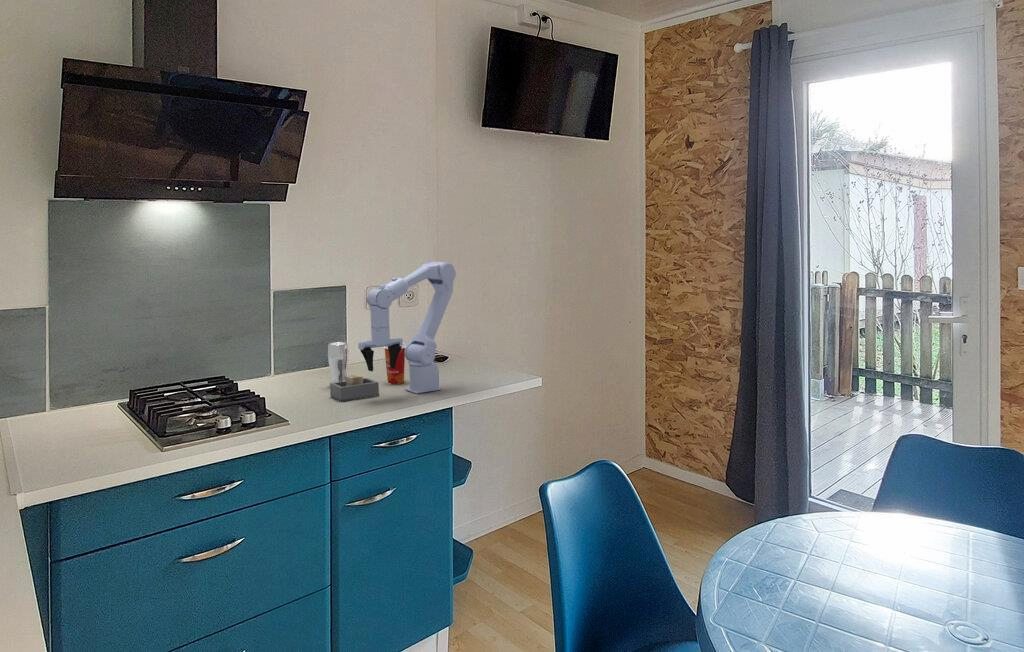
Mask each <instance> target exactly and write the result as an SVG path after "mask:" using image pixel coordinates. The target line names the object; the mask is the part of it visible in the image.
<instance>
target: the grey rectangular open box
mask: <svg viewBox="0 0 1024 652" xmlns="http://www.w3.org/2000/svg"><path fill="white" fill-rule="evenodd" d="M379 386H380V385H379V381H376V380H374V379H371V378H368V377H363V384H358V385H351V386H346V381H341V382H334V383H331V382H330V383H329V390H330V391H329V392H330V393H329V394H330V395H329V396H331V397H330V398H332V397H333V398H332V399H334V398H335V399H334V400H336V399H337V400H336V401H338V400H339V401H338V402H340V401H341V402H340V403H342V401H343V402H348V400H349V401H354V400H353V399H356V400H361V399H360V398H362V399H366V398H365V397H368V398H372V397H371V396H374V397H376V396H375V395H379V396H380V389H379V388H380V387H379Z"/></svg>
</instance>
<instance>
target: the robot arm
mask: <svg viewBox="0 0 1024 652" xmlns="http://www.w3.org/2000/svg"><path fill="white" fill-rule="evenodd" d="M456 277H457V271H456V269H455V267H454V264H452V262H449V261H428V262H426V263H423V264H421V266H420V267H418V268H417V269H415V270H414V271H412V272H411V273H409V274H408V275H407V276H404V277H403V278H401V277H392V278H391V280H390V281H388V282H387V283H386V284H381V285H380V286H379V288H373V289H371V290H370V291H369V293H367V297H366V298H365V300H366V303H367V305H368V306H369V311H370V332H371V334H370V335H371V340H368V341H362V342H361V341H360V342H358V343H357V346H358V347H357V348H358V350H360V353H361V354H362V357H363V358H364V360H365V363H366V366H367V370H368V372H373V371H374V353H375V351H374V350H372V349H374V348H382V347H383V348H384V346H388V350H389V356H390V368H395V365H396V361H397V357H398V355H399V353H400V351H401V346H400V345H403V343H404V339H403V338H399V337H398V338H391V334H390V332H391V331H390V327H391V326H390V307H391V305H392V304H393V302H394V301H395V300H397V299H399V298H401V297H402V296H404V295H405V294H407V293H408V291H409V288H411V287H412V286H414V285H416V284H418V283H420V282H422V281H424V280H427V281H428V282H429V283H430V285H431V286H432V287H433V289H434V294H433V297H432V299H431V302H430V304H429V306H428V308H427V311H426V315H425V317H424V319H423V321H422V324H421V326H420V329H419V331H418V333H417V334H416V335H414V336H413V337H412V338H411V339H410V342H408V344H407V345H405V346H406V347H405V352H404V354H405V359H406V360H407V361H408V365H409V369H408V370H409V386H408V387H405V388H404V390H406V391H409V392H410V393H412V394H413V393H414V394H422V393H429V392H434V391H440V390H441V388H440V371H439V367H438V365H437V363H436V362H434V360H435V358H436V351H437V347H438V346H437V343H436V341H435V338H436V335H437V333H438V330H439V327H440V325H441V323H442V320H443V317H444V315H445V313H446V310H447V307H448V306H449V302H450V299H451V297H452V295H453V290H454V280H455V278H456Z"/></svg>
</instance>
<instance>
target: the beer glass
mask: <svg viewBox="0 0 1024 652" xmlns="http://www.w3.org/2000/svg"><path fill="white" fill-rule="evenodd" d="M327 358H328V360H327V361H328V366H329V370H330V373H331V378H330V380H331V381H330V383H334V382H341V381H346V376H348V368H349V362H350V361H349V360H350V359H349V358H350V353H349V344H348V342H347V341H334V342H328V343H327Z"/></svg>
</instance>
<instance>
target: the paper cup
mask: <svg viewBox="0 0 1024 652" xmlns="http://www.w3.org/2000/svg"><path fill="white" fill-rule="evenodd" d="M400 346H401V351H400V353H399V355H398V357H397V361H396V365H395V368H390V356H389V350H388V346H384V347H383V349H384V356H385V357H384V358H385V368H386V377H387V384H389V383H392V384H391V385H399V384H398V383H401V384H404V383H405V359H406V357H405V354H404V352H405V348H406V346H407V345H406V344H405V342H403V345H400ZM403 382H404V383H403Z"/></svg>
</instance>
